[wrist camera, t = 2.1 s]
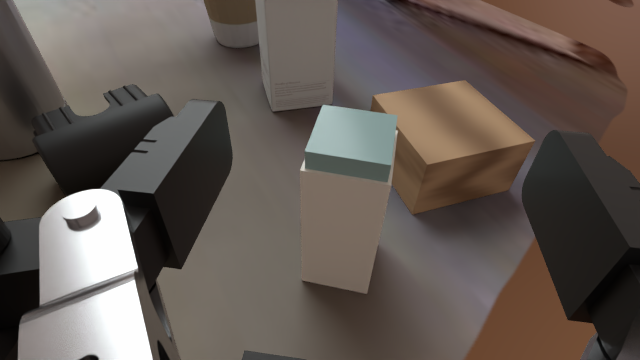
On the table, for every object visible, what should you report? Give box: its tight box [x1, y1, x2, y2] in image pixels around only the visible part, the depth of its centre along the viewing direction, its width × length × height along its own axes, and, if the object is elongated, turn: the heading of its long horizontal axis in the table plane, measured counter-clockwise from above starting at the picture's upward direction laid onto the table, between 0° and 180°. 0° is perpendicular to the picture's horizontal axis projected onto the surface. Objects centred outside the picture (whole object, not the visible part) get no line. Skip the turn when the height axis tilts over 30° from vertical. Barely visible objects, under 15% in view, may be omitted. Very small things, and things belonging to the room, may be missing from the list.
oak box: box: [371, 80, 535, 215], centre depth 35 cm, size 10×10×6 cm
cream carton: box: [300, 105, 398, 294], centre depth 25 cm, size 5×5×12 cm
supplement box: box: [255, 0, 338, 111], centre depth 42 cm, size 7×7×13 cm
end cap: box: [31, 84, 174, 197], centre depth 33 cm, size 10×7×7 cm
